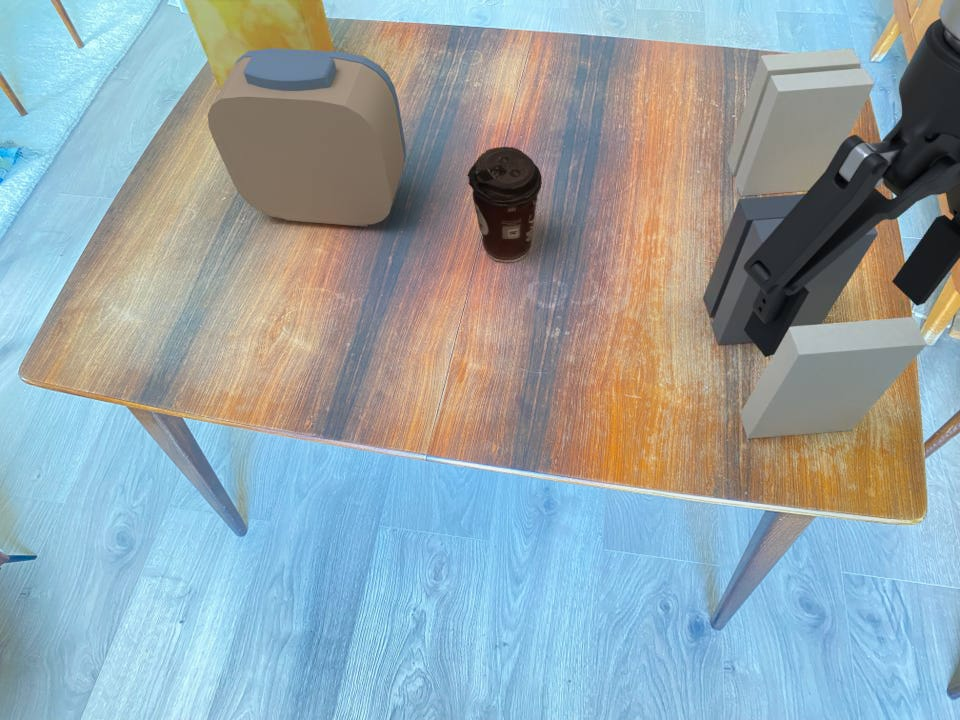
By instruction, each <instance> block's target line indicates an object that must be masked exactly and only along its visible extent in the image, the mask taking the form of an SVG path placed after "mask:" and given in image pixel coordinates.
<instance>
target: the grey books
mask: <svg viewBox="0 0 960 720" xmlns="http://www.w3.org/2000/svg"><path fill="white" fill-rule="evenodd" d="M805 194H806V193H797V194H785V195H783V194H782V195H771V196H760V197H758V196H757V197H747V198H738V200H737V203H736V206H735V208H734V212H733V214H732V217H731V219H730V222H729V226H728V228H727V231H726V234H725V236H724V239H723V242H722V245H721V247H720V250H719V253H718V255H717V259H716V261H715V263H714V266H713V269H712V272H711V275H710V278H709V281H708V282H707V283H708V284H707V286H706V289H705V292H704V295H703V298H702V299H703V302H704V305H705V308H706V311H707V315H708V317H709V318H713V320H712V323H711V327H712V330H713V334H714V337H715V339H716V343H717V345H718V346H725V345H734V344H735V345H736V344H737V345H738V344H750V343H754V342H753V341H752V340H751V339H750V337H749V336H748V335H747V334H746V332H745V331H744V328H745V326H746V324H747V322H748V320H749V318H750V316H751V314H752V312H753V306H752V305H753V303H754V301H755V300H756V297H757V296H758V293H759V291H760V288H759V287H758V285H757V284H756V283H755V282H754V281H753V280H752V278H751V277H750V276H749V275H748V274H747V273H746V271H745V270H744V268H743V267H744V265H745V263H746V262H747V261H748V260H749V259H750V257H751V256H752V255H753V254H754V253H755V252H756V250H757V249H758V248H759V247H760V246H761V245H762V244H763V242H764V241H765V240H766V239H767V238H768V237H769V235H770V234H771V233H772V232H773V231H774V230H775V229H776V227H777V226H778V225H779V224H780V223H781V222H782V221H783V219H784V218H785V217H786V216H787V215H788V214H789V212H790V211H791V210H792V209H793V208H794V207H795V206H796V204H797V203H798V202H799V201H800V200H801V199H802V198H803V196H804V195H805ZM878 235H879V232H878V230H877V229H876V226H875V227H874V228H873V229H871V230H870V231H869V232H868V233H867V234H866V235H864V236H863V237H862V238H861V239H860V240H858V241H857V242H856V243H855V244H854V245H853V246H851V247H850V248H849V249H848V250H847V251H845V252H844V253H843V254H842V255H841V256H840V257H838V258H837V259H836V260H835V261H834V262H832V263H831V264H830V265H829V266H828V267H826V268H825V269H824V270H823V271H822V272H821V273H819V274H818V275H817V276H816V277H815V278H813V279H812V280H811V281H810V282H809V283H808V284H806V285H805V286H804V287H805V288H806V289H807V290H808V291H809V294H808V295H807V297H806V299H805V301H804V303H803V304H802V306H801V308H800V310H799V311H798V313H797V315H796V317H795V319H794V320H793V322H792V324H791V326H790V327H793V326H805V325H818V324H824V322H825V320H826V318H827V316H828V315H829V313H830V312H831V310H832V308H833V307H834V306H835V304H836V302H837V301H838V299H839V297H840V296H841V294H842V292H843V291H844V289H845V288H846V286H847V284H848V283H849V281H850V280H851V278H852V277H853V276H854V273H855V272H856V270H857V269H858V268H859V265H860V264H861V262H862V260H863V259H864V258H865V256H866V254H867V253H868V251H869V250H870V247H872V244H873V243H874V242H875V240H876V238H877V237H878Z"/></svg>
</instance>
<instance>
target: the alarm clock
mask: <svg viewBox="0 0 960 720" xmlns="http://www.w3.org/2000/svg"><path fill="white" fill-rule="evenodd" d="M207 123H208V129H209V131H210V135H211V137H212V139H213V142H214V144H215V146H216V149H217V150H218V151H217V152H218V153H219V155H220V158H221V159H222V162H223V163H224V166H225V168H226V171H227V172H228V174H229V177H230V180H231V183H232V184H233V185H234V187H235V189H236V191H237V193H238V194H239V195H240V196H241V197H242V198H243V200H244V201H245V202H246V203H247V204H248V205H250V206H251V207H252V208H253V209H254V210H256V211H258V212H260V213H262V214H265V215H267V216H269V217H274V218H278V219H283V220H285V221H287V222H289V221H290V222H300V223H313V224H326V225H338V226H350V227H364V228H368V226H369V225H376V224H377V223H379V222H382V221H384V220H385V219H386V218H387V217H388V216H389V214H390V212H391V208H392V206H393V203H394V199H395V197H396V193H397V190H398V186H399V183H400V180H401V177H402V173H403V171H404V168H405V163H406V159H407V146H406V140H405V133H404V128H403V122H402V115H401V110H400V104H399V98H398V95H397V91H396V87H395V85H394V82H393V81H392V79H391V78H390V76H389V73H387V72H386V70H384V68H382V66H380V65H379V64H378V63H377V62H375V61H373V60H372V59H370V58H368V57H367V56H363V55H359V54H353V53H348V52H344V51H335V50H334V51H316V50H295V49H274V48H270V49H262V50H253V51H248V52H246V53H245V54H244V55H243V56H241V57H240V58H239V59H238V60H237V62H236V63H235V65H234V67H233V69H232V70H231V72H230V74H229V76H228V77H227V79H226V81H225V83H224V84H223V86H222V88H221V90H220V89H219V92H218V93H217V95H216V97H215V98H214V100H213V102H212V104H211V105H210V108H209V110H208V112H207Z"/></svg>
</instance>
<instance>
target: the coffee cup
mask: <svg viewBox="0 0 960 720" xmlns="http://www.w3.org/2000/svg"><path fill="white" fill-rule="evenodd" d="M467 178H468V185H469V186H470V187H471V189H472V200H473V205H474V206H473V207H474V210H475V214H476V219H477V224H478V228H479V231H480V233H481V236H482V238H481V239H482V240H481V241H482V245H483V250H484V251H485V252H486V254H487V256H488V257H490V258H492V259H493V261H495V262H500V263H501V262H502V263H504V264H505V263H506V264H507V263H515V262H518V261H522V259H523V258H525V257H526V255H528V253H529V252H530V251H531V248H532V241H533V232H534V227H535V218H536V210H537V203H538V196H539V193H540V191H541V189H542V184H543V181H542V179H543V177H542V174H541V171H540V169H539V167H538V166H537V165H536V163H534V161H533V159H532V158H531V157H530V156H528V155H527V154H526V153H525V152H523V151H522V150H520V149H518V148H516V147H513V146H500V147H499V146H496V147H493V148H489V149H486V150H485V152H483V153H481V154H480V156H478V157H477V160H475V162H474V164H473V165H472V166H471V168H470V169H469V170H468V172H467Z"/></svg>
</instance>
